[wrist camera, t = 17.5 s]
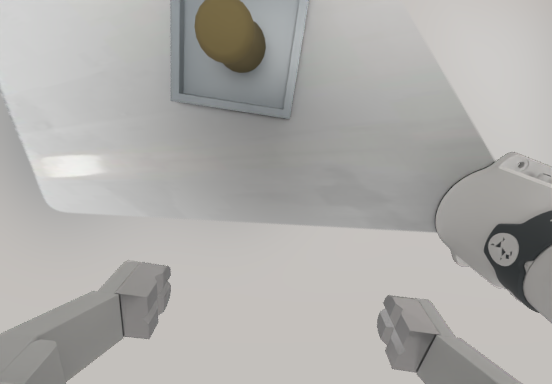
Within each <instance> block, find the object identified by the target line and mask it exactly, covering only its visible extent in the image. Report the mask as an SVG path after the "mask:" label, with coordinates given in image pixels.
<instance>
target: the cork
mask: <svg viewBox="0 0 552 384" xmlns="http://www.w3.org/2000/svg"><path fill="white" fill-rule="evenodd" d="M194 27H195V33H196V38H197V40H198V42H199V45H200V47H201V49H202V50H203V51H204V52H205V53H206V55H207V56H209V57H210V58H212V59H213V60H215V61H217V62H221V63H223V64H224V65H225V66H226V67H227V68H229V69H230V70H232V71H234V72H238V73H246V72H250V71H252V70H254V69H255V68H256V67H257V66H258V65H259V64H260V63H261V61H262V59H263V58H264V55H265V50H266V43H265V37H264V34H263V32H262V30H261V28H260V27H259V26H258V24H257V23H256V22H254V21H253V19H252V16H251V14H250V11H249V10H248V9H247V7H246V6H245V5H244V3H243V2H241V1H240V0H205V1H204V2H203V3H202V4H201V5H200V7H199V9H198V11H197V14H196V16H195V26H194Z"/></svg>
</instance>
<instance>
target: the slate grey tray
mask: <svg viewBox="0 0 552 384" xmlns="http://www.w3.org/2000/svg"><path fill="white" fill-rule="evenodd" d="M204 1H205V0H171V101H176V102H182V103H189V104H195V105H202V106H208V107H215V108H221V109H228V110H234V111H241V112H247V113H253V114H260V115H266V116H273V117H279V118H286V119H290V115H291V108H292V102H293V96H294V90H295V84H296V78H297V71H298V65H299V59H300V53H301V47H302V40H303V34H304V28H305V22H306V16H307V9H308V3H309V0H240V1H241V2H243V3H244V5H245V6H246V7H247V9H248V10H249V11H250V14H251V16H252V19H253V21H254V22H256V23H257V24H258V26H259V27H260V28H261V30H262V32H263V34H264V37H265V43H266V50H265V55H264V58H263V59H262V61H261V63H260V64H259V65H258V66H257V67H256V68H255V69H254V70H252V71H250V72H246V73H238V72H234V71H232V70H230V69H229V68H227V67H226V66H225V65H224V64H223V63H221V62H217V61H215V60H213V59H212V58H210V57H209V56H207V55H206V53H205V52H204V51H203V50H202V49H201V47H200V45H199V42H198V40H197V38H196V33H195V27H194V26H195V16H196V14H197V11H198V9H199V7H200V5H201V4H202V3H203V2H204Z"/></svg>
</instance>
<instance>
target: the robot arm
mask: <svg viewBox="0 0 552 384" xmlns="http://www.w3.org/2000/svg"><path fill="white" fill-rule="evenodd" d="M519 163H520V165H519V166H518V164H519ZM436 230H437V233H438V235H439V237H440V239H441V240H442V241H443V242H444V243H445V244H446V245H447V246H448V247H449V248H450V250H451V253H452V257H453V259H454V261H455V262H456V263H457V264H458V265H460V266H462V267H471V268H472V269H473V270H475V271H476V272H477V273H478V274H479V275H481V276H482V277H483V278H484V279H486V280H487V281H488V282H489V283H491V284H492V285H493V286H495V287H497V288H499V289H501V288H504V289H507V290H508V291H509V292H510V294H511V295H512V296H514V297H515V298H516V299H517V300H519V301H520V302H522V303H523V304H525V305H526V306H527V307H528V308H529V309H531V310H533V311H535V312H538V313H540V314H542V315H543V316H544V317H545V318H546V319H547V320H548V321H550V322H551V323H552V167H551V166H548V165H546V164H544V163H541V162H538V161H536V160H533V159H531V158H529V157H526V156H523V155H521V154H518V153H515V152H510V153H507V154H505V155H504V156H502V157H501V158H500V159H498V160H497V161H496V162H495V163H493V164H492V165H491V166H489V167H487V168H485V169H482V170H480V171H477V172H475V173H472V174H470V175H468V176H467V177H465V178H463V179H462V180H460V181H459V182H458V183H457V184H455V185H454V186H453V187H452V188H451V189H450V190H449V191H448V193H447V194H446V195H445V196H444V198H443V200H442V201H441V203H440V205H439V207H438V210H437V214H436ZM170 275H171V273H170V267H169V266H164V265H157V264H151V263H145V262H137V261H130V260H128V261H125V262H124V263H123V264H122V265H121V266H120V267H119V268H118V269H117V271H116V272H115V273H114V274H113V275H112V276H111V277H110V278H109V279H108V280H107V281H106V283H105V284H104V285H103V286H102V287H101V288H100V289H99V290H98V291H92V292H90V293H88V294H85V295H83V296H81V297H79V298H77V299H75V300H73V301H71V302H68V303H66V304H64V305H62V306H59V307H57V308H55V309H53V310H51V311H49V312H46V313H44V314H42V315H40V316H38V317H36V318H33V319H31V320H29V321H27V322H24V323H22V324H20V325H18V326H16V327H14V328H12V329H9V330H7V331H5V332H3V333H1V334H0V384H66V382H67V381H68V380H69V379H71V378H72V377H73V376H74V375H76V374H77V373H78V372H80V371H81V370H82V369H84V368H85V367H86V366H87V365H89V364H90V363H91V362H93V361H94V360H95V359H97V358H98V357H99V356H100V355H102V354H103V353H104V352H106V351H107V350H108V349H110V348H111V347H112V346H114V345H115V344H116V343H117V342H119V341H120V340H121V339H122V338H123V337H134V338H144V339H149V338H150V337H151V335H152V333H153V331H154V329H155V327H156V326H157V324H158V315H159V314H161V313H162V312H164V310H165V308H166V306H167V303H168V301H169V298H170V292H171V285H170V283H169V282H168V279H169V277H170ZM384 306H385V309H384V310H382V311H381V312H380V313H379V316H378V321H377V328H378V333H379V336H380V338H381V340H382V341H383V342H384V343H385V344H386V345H387V347H386V350H385V351H386V354H387V356H388V359H389V361H390V364H391V366H392V369H396V370H403V371H409V372H416V373H417V375H418V376H419V377H420V378H421V380H422V381H423V382H424V383H425V384H522V383H521V382H519V381H518V380H517V379H515V378H514V377H513V376H511V375H510V374H508V373H507V372H506V371H504V370H503V369H502V368H500V367H499V366H498V365H496V364H495V363H494V362H492V361H491V360H489V359H488V358H487V357H485V356H484V355H483V354H481V353H480V352H479V351H477V350H476V349H475V348H473V347H472V346H470V345H469V344H468V343H466V342H465V341H464V340H462V339H461V338H456V337H455V335H454V334H453V332H452V331H451V329H450V328H449V327H448V325H447V324H446V323H445V321H444V319H443V318H442V316H441V315H440V314H439V312H438V311H437V309H436V308H435V306H434V305H433V303H432V302H431V301H429V300H426V299H417V298H415V299H414V298H406V297H398V296H390V295H388V296H387V297H386V298H385V300H384Z"/></svg>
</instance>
